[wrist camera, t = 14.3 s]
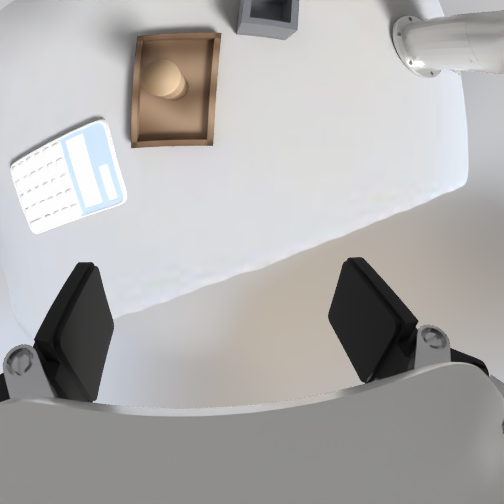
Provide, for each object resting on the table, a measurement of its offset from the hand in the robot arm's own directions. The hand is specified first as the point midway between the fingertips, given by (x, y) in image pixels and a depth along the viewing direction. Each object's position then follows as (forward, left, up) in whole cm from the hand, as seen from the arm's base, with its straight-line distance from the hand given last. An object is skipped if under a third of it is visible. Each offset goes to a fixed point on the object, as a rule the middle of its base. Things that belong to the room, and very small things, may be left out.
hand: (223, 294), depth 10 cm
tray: (+5, -10, -30) cm, 32 cm away
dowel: (+5, -10, -30) cm, 32 cm away
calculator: (+23, +2, -31) cm, 39 cm away
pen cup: (-6, -22, -30) cm, 38 cm away
